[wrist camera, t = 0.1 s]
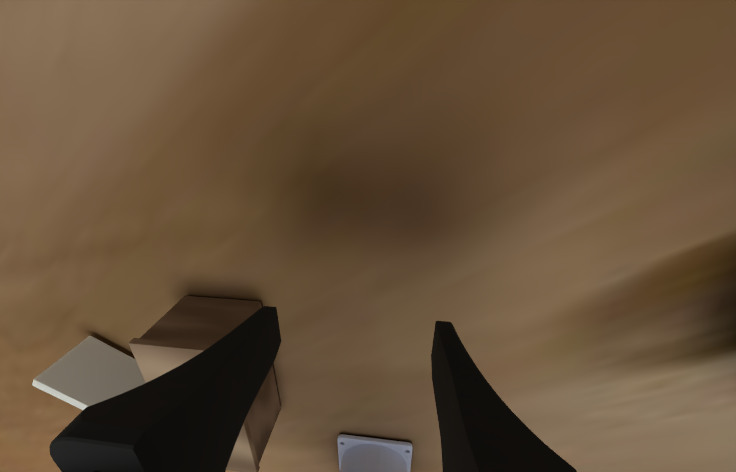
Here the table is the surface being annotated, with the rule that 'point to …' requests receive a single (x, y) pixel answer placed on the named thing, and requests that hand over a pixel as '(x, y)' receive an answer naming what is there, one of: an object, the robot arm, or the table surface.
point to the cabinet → (191, 337)
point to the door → (90, 374)
